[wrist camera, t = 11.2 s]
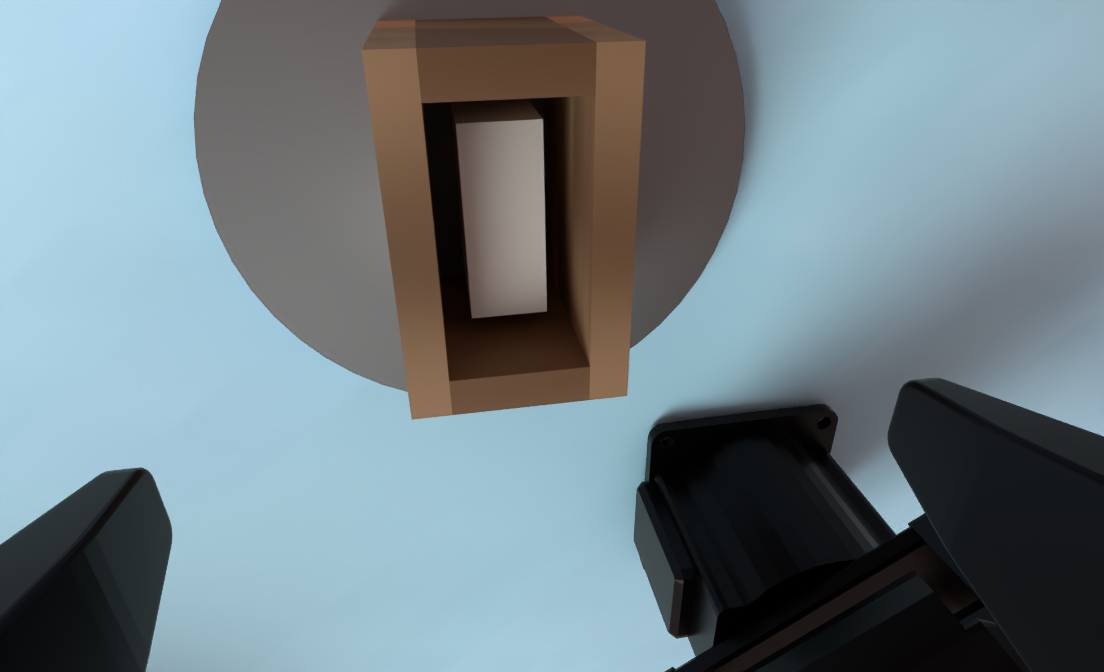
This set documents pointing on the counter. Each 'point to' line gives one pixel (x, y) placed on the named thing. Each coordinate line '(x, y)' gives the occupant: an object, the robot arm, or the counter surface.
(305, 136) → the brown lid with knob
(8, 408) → the counter surface
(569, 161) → the walnut sleeve
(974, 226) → the counter surface
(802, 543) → the robot arm
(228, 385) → the counter surface
